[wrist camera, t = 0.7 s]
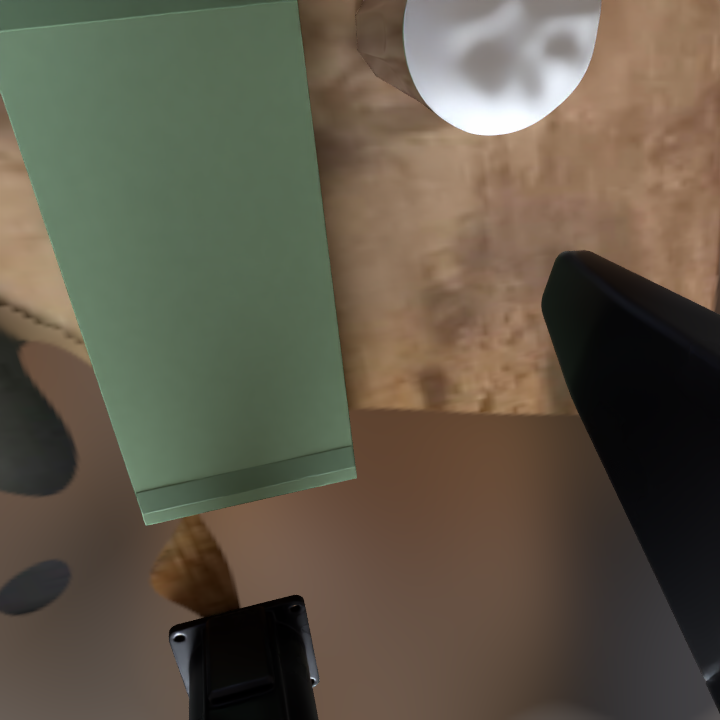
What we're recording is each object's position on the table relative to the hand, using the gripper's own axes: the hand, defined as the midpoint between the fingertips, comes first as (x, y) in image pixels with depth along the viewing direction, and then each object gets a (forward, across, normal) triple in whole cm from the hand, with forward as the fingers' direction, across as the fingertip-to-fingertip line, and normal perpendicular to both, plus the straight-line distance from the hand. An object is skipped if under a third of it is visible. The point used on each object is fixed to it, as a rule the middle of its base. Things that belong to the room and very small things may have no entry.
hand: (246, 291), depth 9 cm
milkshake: (+16, -6, +1) cm, 17 cm away
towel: (+13, +1, +9) cm, 16 cm away
